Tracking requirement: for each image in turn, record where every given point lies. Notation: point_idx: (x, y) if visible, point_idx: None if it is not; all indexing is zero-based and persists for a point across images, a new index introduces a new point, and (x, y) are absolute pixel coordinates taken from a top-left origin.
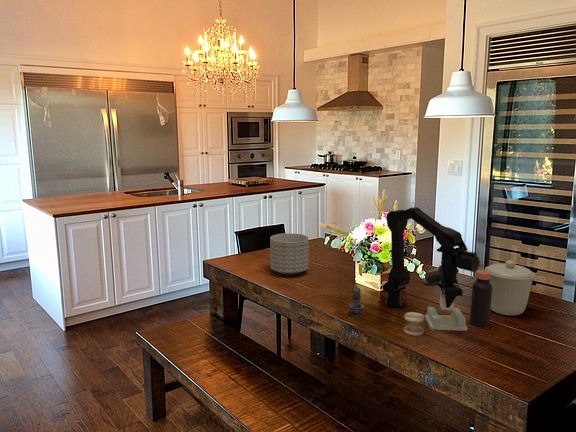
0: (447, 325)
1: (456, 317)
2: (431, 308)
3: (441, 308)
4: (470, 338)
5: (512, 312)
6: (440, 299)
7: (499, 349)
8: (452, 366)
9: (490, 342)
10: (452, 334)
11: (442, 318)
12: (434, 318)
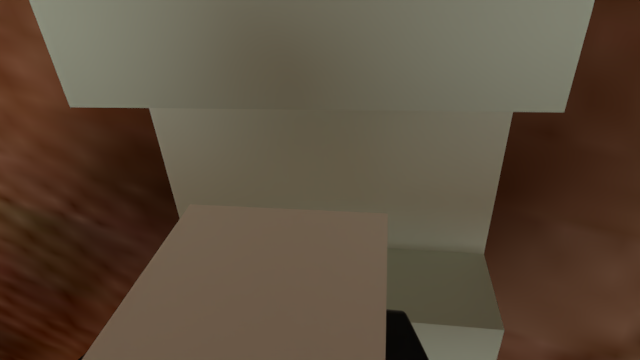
0: (199, 156)
1: None
2: (482, 47)
3: (234, 209)
4: (81, 257)
5: None
6: (346, 325)
7: (7, 344)
8: None
9: (77, 336)
10: (96, 154)
11: (389, 150)
12: (40, 16)
